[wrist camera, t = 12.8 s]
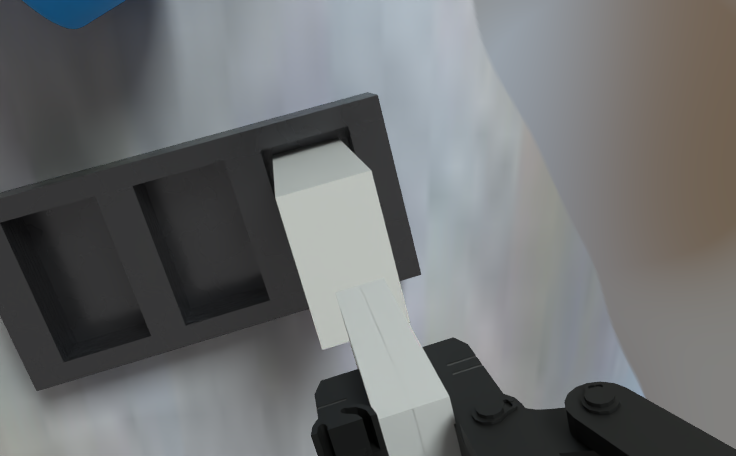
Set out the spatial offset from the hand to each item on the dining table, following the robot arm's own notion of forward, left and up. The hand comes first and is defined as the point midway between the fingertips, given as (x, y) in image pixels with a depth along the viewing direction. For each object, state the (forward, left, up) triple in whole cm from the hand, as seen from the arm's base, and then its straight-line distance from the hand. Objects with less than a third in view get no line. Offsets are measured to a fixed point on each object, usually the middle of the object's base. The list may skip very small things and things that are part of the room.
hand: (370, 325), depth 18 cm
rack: (0, -7, -20) cm, 21 cm away
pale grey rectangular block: (0, 0, -19) cm, 19 cm away
